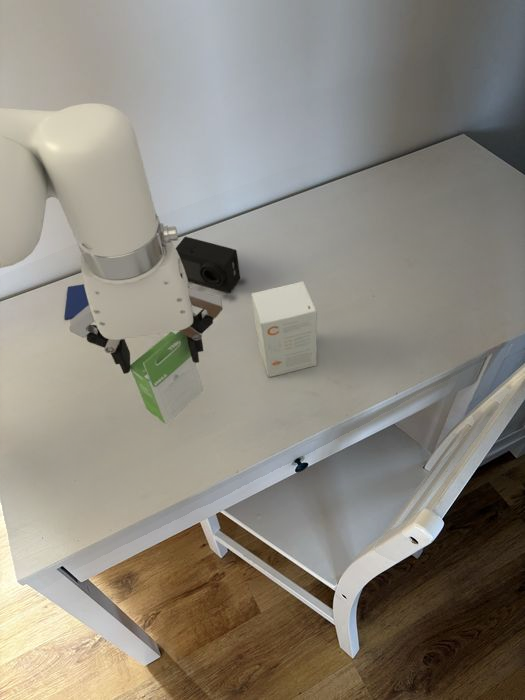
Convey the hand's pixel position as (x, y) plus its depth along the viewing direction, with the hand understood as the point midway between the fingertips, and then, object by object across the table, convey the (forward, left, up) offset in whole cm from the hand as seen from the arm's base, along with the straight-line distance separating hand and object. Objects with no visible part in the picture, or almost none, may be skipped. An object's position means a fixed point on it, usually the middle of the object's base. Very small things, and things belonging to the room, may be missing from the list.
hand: (161, 358), depth 64 cm
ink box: (0, 0, -9) cm, 9 cm away
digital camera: (+5, +31, -19) cm, 37 cm away
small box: (+16, +11, -19) cm, 27 cm away
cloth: (-12, +31, -18) cm, 38 cm away
